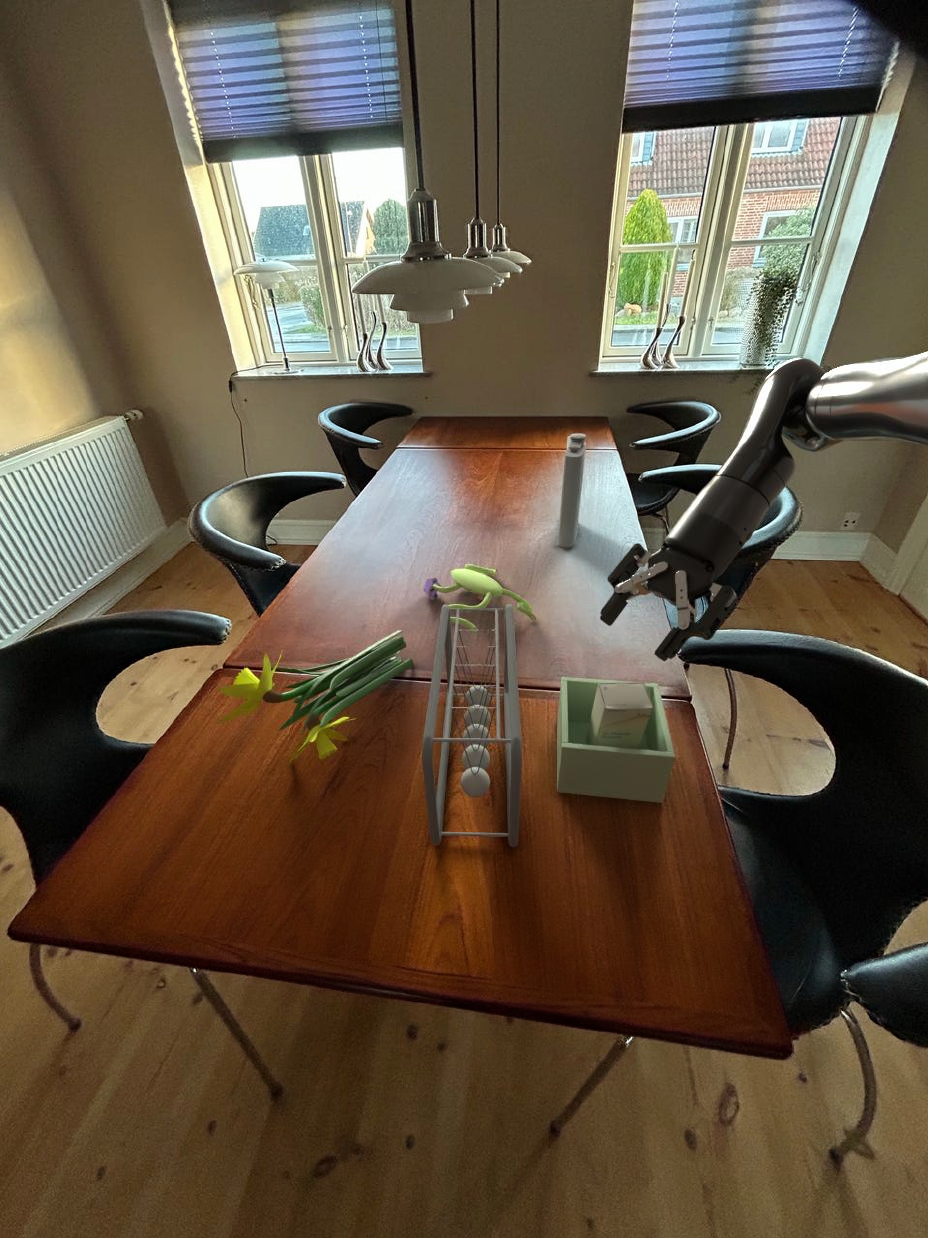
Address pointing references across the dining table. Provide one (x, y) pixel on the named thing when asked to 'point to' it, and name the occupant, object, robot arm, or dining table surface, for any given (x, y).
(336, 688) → the daffodil flowers
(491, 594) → the figurine
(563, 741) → the open square storage box
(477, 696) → the newton's cradle
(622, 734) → the cosmetic box
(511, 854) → the dining table surface
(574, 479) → the flask
